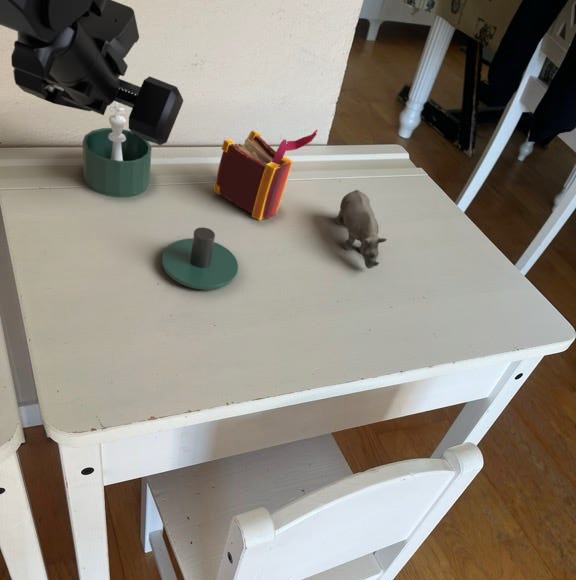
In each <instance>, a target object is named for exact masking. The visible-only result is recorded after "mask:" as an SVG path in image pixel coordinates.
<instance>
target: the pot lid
mask: <svg viewBox="0 0 576 580" xmlns="http://www.w3.org/2000/svg"><path fill="white" fill-rule="evenodd" d="M215 237H216V233H215V232H214V231H213V230H212V229H210V228H208V227H197V228H195V229H194V231H193V236H192V238H182V239H179V240H176V241H174V242H172V243H169V244H168V246H167V247H165V249H164V250H163V252H162V256H161V264H162V268H163V270H164V272H165V273H166V274H167V276H168V277H170V278H171V279H172V280H174V281H175V282H176V283H178V284H180V285H182V286H185V287H188V288H190V289H196V290H204V291H205V290H216V289H221V288H223V287H226V286H228V285H229V284H231V283H232V282H233V281H234V280H235V279H236V277H237V275H238V271H239V263H238V260H237V258H236V256H235V255H234V254H233V252H231V251H230V250H229V248H227V247H225V246H224V245H221V244H220V243H217V242H216V241H215Z"/></svg>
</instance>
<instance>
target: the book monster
mask: <svg viewBox="0 0 576 580" xmlns="http://www.w3.org/2000/svg"><path fill="white" fill-rule="evenodd" d="M318 131H319V130H318V129H315V130H314V131H313V132H312V134H309V135H306V136H303V137H301V138H298V139H296V140H288V141H287V139H286V138H285V139H283V140H281V142H280V144H279V146H278V148H277V150H275V149H274V148H272V147H271V146H270V144H268V143H267V142H266V141H265V140H264V139H263V138H262V137H261V134H260V132H258V131H255V130H250V133H249V134H248V136H247V138H246V139H245V140H244V144H243V145H242V144H241V143H238V144H237V143H235V141H234V140H232V139H230V138H227V139H226V138H225V139H223V143H222V145H221V150H222V154H221V157H220V162H219V165H218V169H217V175H216V182H214V185H213V187H214V188H213V189H214V193H216V194H217V195H222V196H223V197H224V198H226V199H227V200H229V201H230V202H231V203H233V204H235V205H236V206H237V207H239V208H241V209H243V210H244V211H247V212H249V213H251V218H254V219H256V220H258V221H261V220H268V219H270V218H272V217H274V216H276V215H277V212H278V211H279V208H280V205H281V201H282V198H283V195H284V192H285V188H286V185H287V181H288V178H289V176H290V172H291V168H292V165H293V160H291V159H290V158H289V157H288V156H285V154H286V152H288V151H295V150H298V149H301V148H303V147H305V146H306V145H309V144H310V143H312V141H313V140H314V139H315V138H316V136H317V135H318V134H317V132H318Z"/></svg>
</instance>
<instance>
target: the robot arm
mask: <svg viewBox="0 0 576 580" xmlns="http://www.w3.org/2000/svg"><path fill="white" fill-rule="evenodd" d="M0 26H2V27H4V28H6V29H9V30H12V31H15V32H17V40H14V42H13V46H14V48H13V50H12V53H11V56H10V57H11V58H10V59H11V66H12V68H13V80H14V83H15V85H16V86H17V87H18V88H20V90H21V91H23V92H25V93H28V94H30V95H33V96H35V97H36V98H39V99H41V100H43V101H46V102H48V103H51V104H53V105H59V106H61V107H67V108H73V109H76V110H81V111H85V112H94V113H96V114H99V115H100V116H101V115H102V116H105V113H106V111H107V109H108V106H110V105H112V104H113V103H114V102H118V103H119V104H121V105H123V106H126V107H129V108H132V109H131V110H130V113H129V115H128V130H129V131H131V132H132V133H134V134H133V135H134V136H137V137H139V138H142V139H144V140H147V141H148V142H149V143H154V144H156V145H158V146H162V145H165V144H166V143H167V142H168V140H169V138H170V135H171V133H172V130H173V128H174V125H175V123H176V120H177V118H178V115H179V113H180V111H181V108H182V105H183V103H184V98H183V96H182V93H181V92H180V90H179V87H177V86H176V85H173V84H170V83H168V82H165V81H163V80H161V79H158V78H155V77H152V76H148V77H146V78H144V79H143V81H142V84H141V86H140V85H136V84H134V83H132V82H128V81H126V80H123V79H120V76H121V77H125V75H126V72H127V70H128V64H127V62H126V61H125V58H126V57H127V55H128V54H129V52H130V51H131V49H132V48H133V46H134V45H135V44H136V43H138V41H139V39H140V33H139V29H138V23H137V19H136V13H135V11H134V9H133V8H132V7H130V6H128V5H125V4H123V3H120V2H118V1H115V0H0Z"/></svg>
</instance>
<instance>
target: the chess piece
mask: <svg viewBox="0 0 576 580" xmlns="http://www.w3.org/2000/svg"><path fill="white" fill-rule="evenodd" d="M114 102H115V107H114V106H110V107H109V112H110V113H114V114H112V115H110V116H109V117H108V121H109V124H110V128H112V131H113V132H112V133H110V134H109V136H108V138H109V139H110V140H111V141H113V147H112V155H111V160H116V161H123V158H122V149H121V142H124V141H125V140H126V138H125V135H124V134H122V131H123V129H124V128H125V125H126V123H127V121H126V118H125V117H124V116H122V115H120V114H126V109H125V107H120V104H121V103H118V102H116V101H114Z"/></svg>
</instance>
